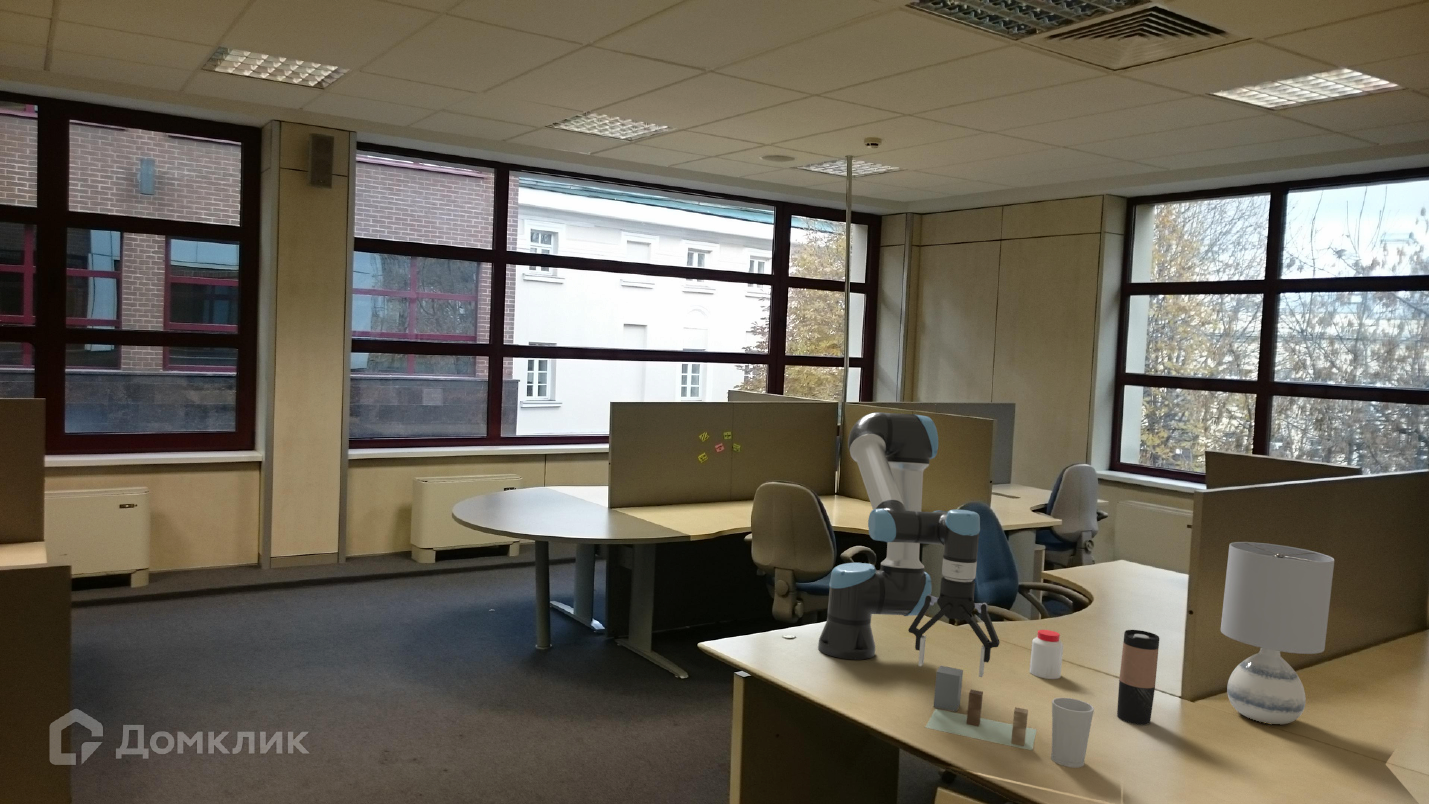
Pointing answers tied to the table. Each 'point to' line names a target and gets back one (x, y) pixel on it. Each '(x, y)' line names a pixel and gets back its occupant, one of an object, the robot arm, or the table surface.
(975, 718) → the walnut post
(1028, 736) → the board
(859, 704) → the table surface
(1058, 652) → the pill bottle
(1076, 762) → the cup
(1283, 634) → the lamp
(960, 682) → the tall gray brick
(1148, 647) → the travel mug
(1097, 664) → the table surface
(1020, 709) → the oak post
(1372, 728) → the table surface
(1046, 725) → the table surface
